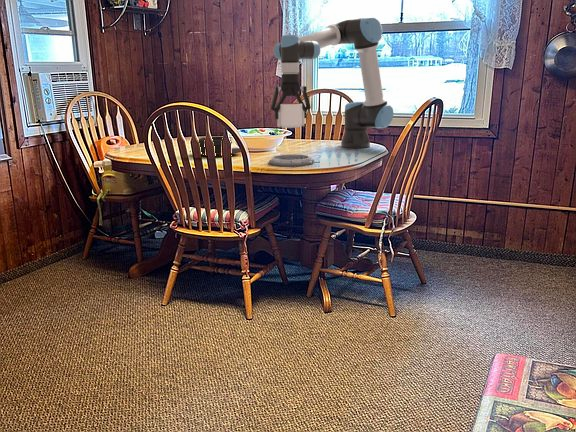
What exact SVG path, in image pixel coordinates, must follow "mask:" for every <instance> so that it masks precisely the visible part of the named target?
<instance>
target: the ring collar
mask: <svg viewBox="0 0 576 432" xmlns="http://www.w3.org/2000/svg"><path fill="white" fill-rule="evenodd" d="M313 163H314V164H315V160H314V159H313V158H312V156H311V155H308V154H301V153H300V154H296V153H294V154H293V153H291V154H289V153H287V154H279V155H273V156H272V157H271V158H270V159H269V160H268V164H269V165H271V166H275V167H282V168H283V167H284V168H285V167H286V168H287V167H289V168H290V167H293V168H294V166H296V167H306V166H305V165H307V166H311V165H313Z"/></svg>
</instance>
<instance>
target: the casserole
mask: <svg viewBox="0 0 576 432" xmlns="http://www.w3.org/2000/svg"><path fill="white" fill-rule="evenodd" d="M205 137H206V136H204V137H200V138H199V139H198V141H199V143H200V147H201V152H202V154H204V155H205V147H204V140H205ZM211 137H212V139H213V142H214V146H215V153H216V156H220V157H222V156H221V141H222V138H223V137H224V136H211ZM230 141H231V144H233V141H232V139H231V138H230ZM231 149H232V155H233V154H238V153H241V151H239V150H240V149H239V148H238V149H236V148H231ZM191 151H192V150H190V151H189V152H191ZM202 154H201V155H202Z"/></svg>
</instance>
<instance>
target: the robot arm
mask: <svg viewBox="0 0 576 432" xmlns="http://www.w3.org/2000/svg"><path fill="white" fill-rule="evenodd" d="M382 35H383V26H382V24H381V22H380V20H379V19H378V18H376V17H375V16H366V15H365V16H360V17H359V16H358V17H352V18H351V17H350V18H345V19H343V20H340V21H337V22H335V23H332V24H330V25H328V26H327V27H326V28H324V29H321V30H319V31H315V32H313V33H310V34H306V35H303V36H300V37H299V35H297V34H285V35H282V36H281V39H280V42H277V43H276V44H275V45H274V48H273V54H274V57H275V58H276V59H277V60H280V61H281V62H280V63H281V65H280V66H281V67H280V68H281V69H280V70H281V73H282V74H281V76H280V77H281V84H280V86H274V88H273V90H274V92H273V97H272V101H271V105H270V110H271V111H274V119H275V120H276V121H277V122H276V123H277V128H282V127H281V126H280V112H279V109H280V104H282V103H284V102H285V99H286V97H295V100H297V103H299V104H302V126H301V127H305V119H307V114H308V113H307V112H308V110H310V109H311V108H312V107H311V104H310V99H309V96H308V93H307V86H306V85H305V86H300V85H301V84H300V74H299V73H300V60H316V59H317V58H319V56H320V54H321V49H322V48H326V47H329V46H337V45H347V44H348V45H349V44H351V45H352V44H353V46H354V50H355V51H356V52H358V57H359V64H360V71H361V77H362V83H363V89H364V97H365V100H363V101H355V102H348V103H346V104H345V105H344V133H343V136H342V139H341V142H340V143H341V145H340V146H341V147H342V148H345V149H346V148H347V149H364V148H370V147H371V142H370V138H369V133H368V132H367V131H368V128H370V129H371V128H372V129H374V128H375V129H386V128H388V127H389V126H390V124H392V121H393V118H394V109H393V107H392V105H390V104H388V101H387V98H385V97H384V94H383V86H382V80H381V74H380V73H381V72H380V64H379V57H378V52H377V48H378V46H379V45H380V43H379V42H380V41H381V40H382ZM280 90H281V91H282V94H281V95H280V98H279V99H278V97H279V92H281V91H280ZM299 91H301V93H302V96H303V97H302V98H303V100H304V102H303V100H302V98H301V96H300V94H299ZM277 101H278V102H277Z"/></svg>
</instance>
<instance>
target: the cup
mask: <svg viewBox="0 0 576 432" xmlns="http://www.w3.org/2000/svg"><path fill="white" fill-rule="evenodd" d="M302 111H303V109H302V104H299V102H283V103H282V104H280V109H279V112H280V126H281V127H280V128H284V129H285V128H286V129H295V128H301V127H303V126H302Z"/></svg>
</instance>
